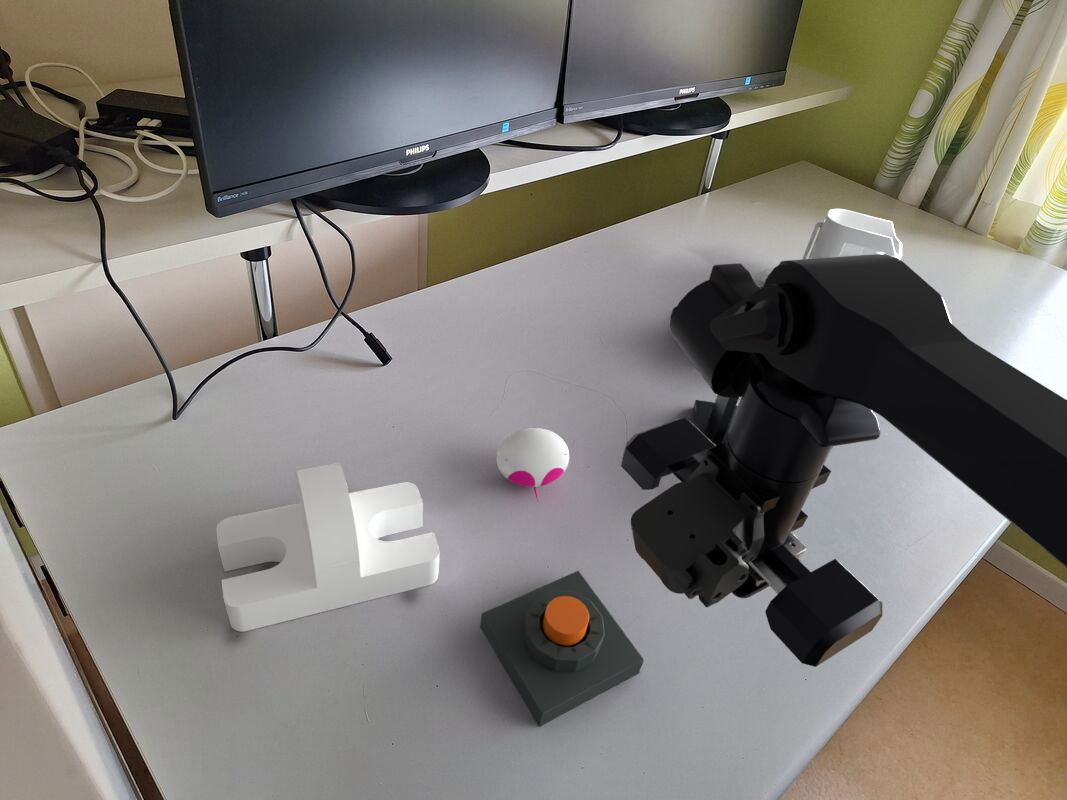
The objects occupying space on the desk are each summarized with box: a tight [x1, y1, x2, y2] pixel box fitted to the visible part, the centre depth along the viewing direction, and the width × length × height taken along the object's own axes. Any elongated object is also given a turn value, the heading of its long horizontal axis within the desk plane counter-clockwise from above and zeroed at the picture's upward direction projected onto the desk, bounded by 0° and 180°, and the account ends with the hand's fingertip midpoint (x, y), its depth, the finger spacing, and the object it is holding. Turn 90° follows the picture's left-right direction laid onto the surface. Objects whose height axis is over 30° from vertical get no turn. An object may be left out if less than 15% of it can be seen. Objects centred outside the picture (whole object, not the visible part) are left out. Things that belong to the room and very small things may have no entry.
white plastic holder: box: [801, 208, 903, 260], centre depth 113 cm, size 7×12×12 cm, turn 69°
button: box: [543, 596, 589, 646], centre depth 62 cm, size 4×4×2 cm
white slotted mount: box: [215, 462, 441, 633], centre depth 66 cm, size 10×18×11 cm, turn 112°
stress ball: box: [496, 427, 570, 504], centre depth 79 cm, size 8×8×7 cm
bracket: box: [692, 394, 740, 463], centre depth 85 cm, size 10×8×11 cm
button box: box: [479, 570, 645, 727], centre depth 64 cm, size 10×10×4 cm
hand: (707, 601), depth 55 cm, fingers closed
